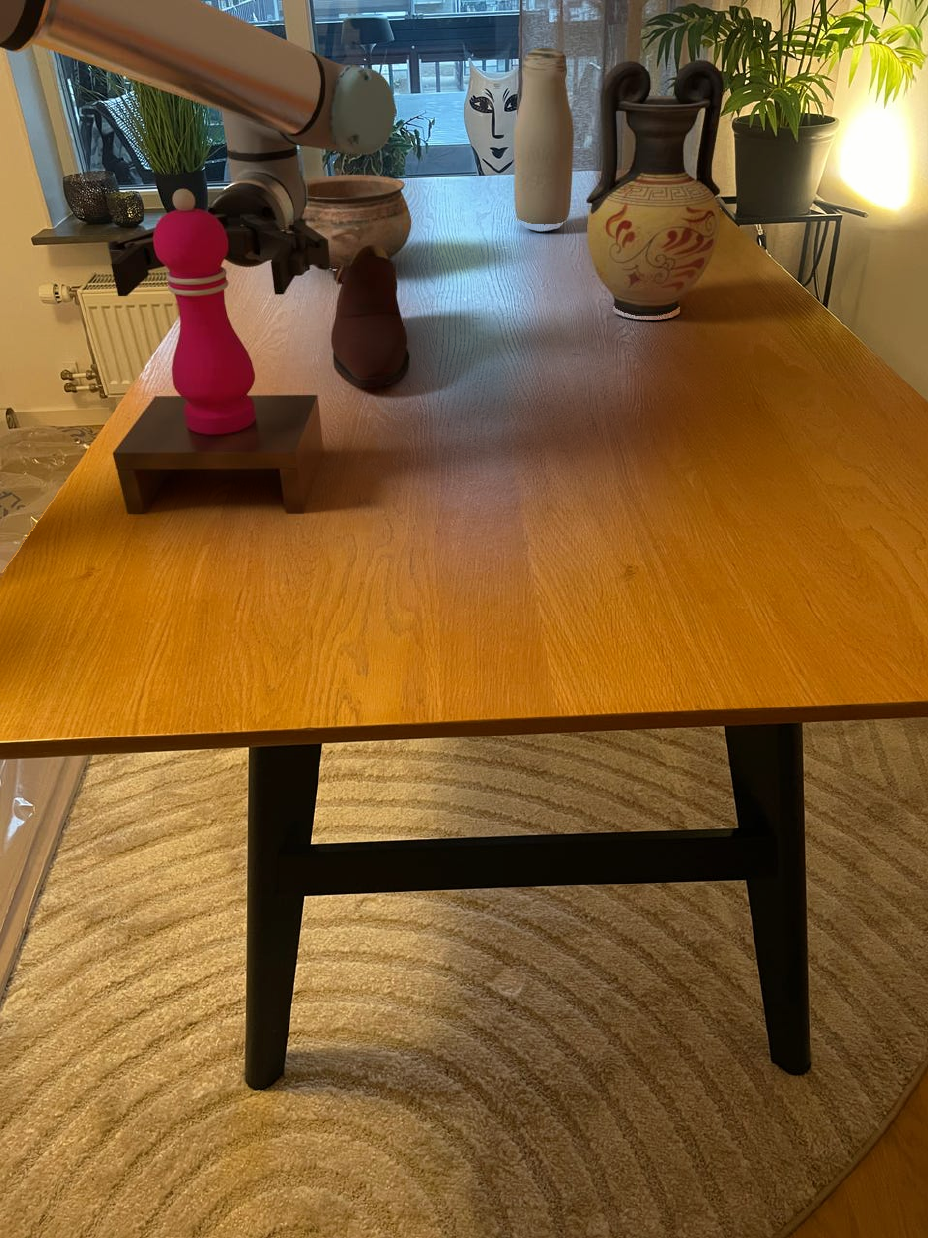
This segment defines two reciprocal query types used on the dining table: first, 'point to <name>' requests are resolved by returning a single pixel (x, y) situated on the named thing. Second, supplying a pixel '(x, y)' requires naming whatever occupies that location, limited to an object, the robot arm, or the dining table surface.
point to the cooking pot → (357, 214)
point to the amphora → (655, 189)
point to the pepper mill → (204, 321)
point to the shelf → (222, 447)
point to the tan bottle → (543, 140)
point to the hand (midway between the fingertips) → (197, 279)
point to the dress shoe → (369, 321)
